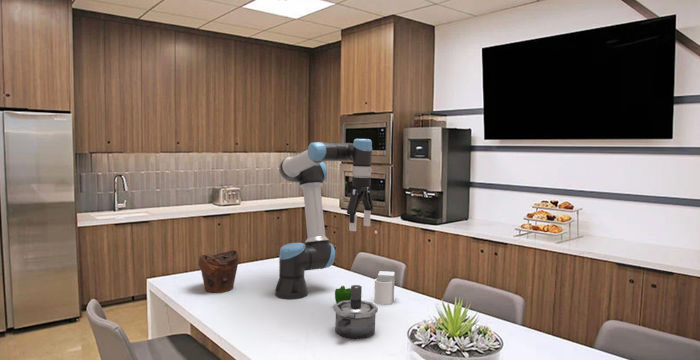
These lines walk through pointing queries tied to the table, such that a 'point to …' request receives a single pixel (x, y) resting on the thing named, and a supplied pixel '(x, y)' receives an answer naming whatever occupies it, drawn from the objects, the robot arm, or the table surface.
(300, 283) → the robot arm
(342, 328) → the pot
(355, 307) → the lid
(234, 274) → the chocolate muffin
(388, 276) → the supplement box
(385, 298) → the cup
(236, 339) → the table surface
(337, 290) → the bell pepper
